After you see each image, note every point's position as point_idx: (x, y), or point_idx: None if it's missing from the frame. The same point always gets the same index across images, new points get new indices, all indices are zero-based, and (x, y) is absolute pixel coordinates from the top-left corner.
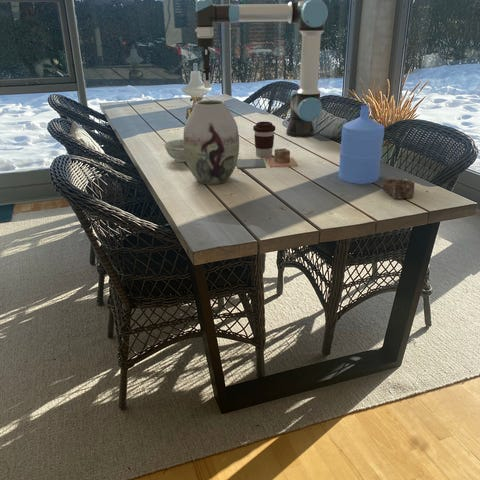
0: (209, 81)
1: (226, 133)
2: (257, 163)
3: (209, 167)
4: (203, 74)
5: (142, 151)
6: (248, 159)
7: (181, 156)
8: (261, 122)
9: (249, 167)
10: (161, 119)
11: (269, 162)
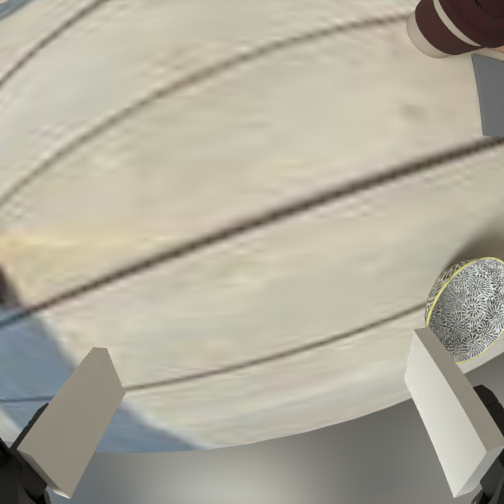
0: (455, 374)
1: None
2: None
3: None
4: (88, 458)
5: (340, 404)
6: (485, 94)
7: (492, 297)
8: (475, 2)
9: None
10: (2, 366)
11: (501, 47)
